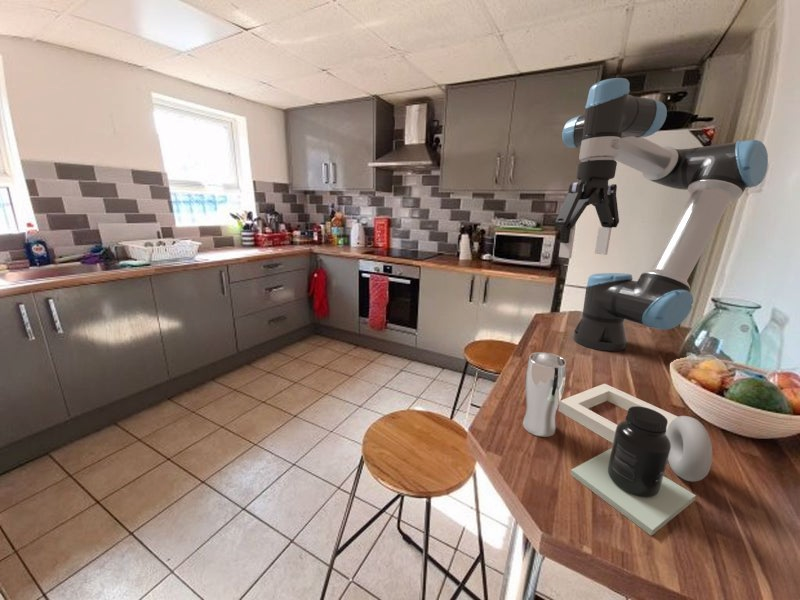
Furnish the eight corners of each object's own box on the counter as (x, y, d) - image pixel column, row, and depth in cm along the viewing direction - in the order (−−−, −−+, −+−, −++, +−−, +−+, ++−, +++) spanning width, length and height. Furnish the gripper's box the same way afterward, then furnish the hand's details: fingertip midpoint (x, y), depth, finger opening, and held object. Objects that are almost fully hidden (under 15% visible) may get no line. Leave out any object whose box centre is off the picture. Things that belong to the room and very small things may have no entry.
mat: (613, 451, 60) (614, 446, 60) (694, 500, 50) (695, 495, 50) (570, 474, 55) (571, 469, 54) (651, 535, 44) (652, 530, 44)
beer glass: (512, 421, 68) (520, 355, 64) (538, 413, 71) (546, 349, 67) (538, 442, 62) (548, 370, 58) (565, 433, 65) (576, 363, 61)
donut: (707, 499, 50) (724, 443, 47) (679, 492, 51) (694, 437, 49) (680, 455, 59) (694, 406, 56) (657, 450, 60) (669, 402, 58)
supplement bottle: (669, 503, 48) (688, 432, 45) (617, 495, 49) (633, 426, 46) (644, 468, 55) (660, 404, 52) (600, 462, 56) (612, 399, 53)
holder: (602, 392, 79) (604, 383, 79) (682, 430, 66) (685, 420, 65) (558, 410, 72) (559, 400, 71) (637, 458, 58) (640, 446, 58)
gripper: (577, 154, 65) (563, 261, 71) (646, 162, 76) (629, 254, 82) (545, 159, 71) (534, 256, 77) (613, 166, 83) (599, 251, 88)
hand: (583, 255), depth 79 cm, fingers open, 13 cm apart
